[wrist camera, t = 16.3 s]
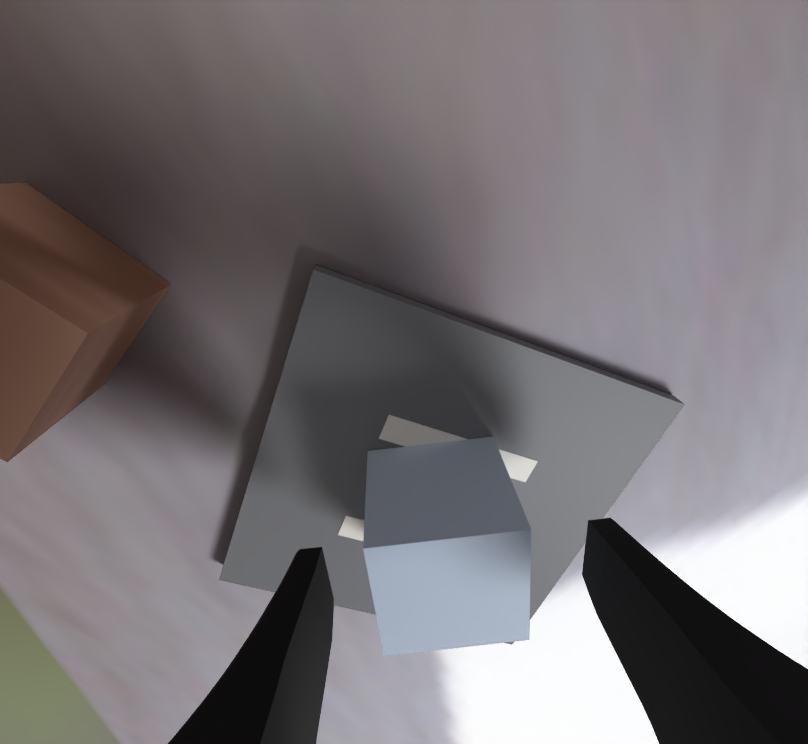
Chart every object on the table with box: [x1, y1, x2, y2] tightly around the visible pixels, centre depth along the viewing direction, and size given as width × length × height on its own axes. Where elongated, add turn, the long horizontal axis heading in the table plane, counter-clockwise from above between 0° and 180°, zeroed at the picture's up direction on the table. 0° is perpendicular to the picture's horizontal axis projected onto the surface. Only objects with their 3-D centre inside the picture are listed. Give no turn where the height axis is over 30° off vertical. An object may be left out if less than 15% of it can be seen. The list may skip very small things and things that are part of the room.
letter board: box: [219, 265, 685, 644], centre depth 16 cm, size 12×12×1 cm
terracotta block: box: [0, 182, 171, 462], centre depth 11 cm, size 4×4×4 cm
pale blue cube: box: [363, 437, 531, 656], centre depth 13 cm, size 4×4×4 cm
